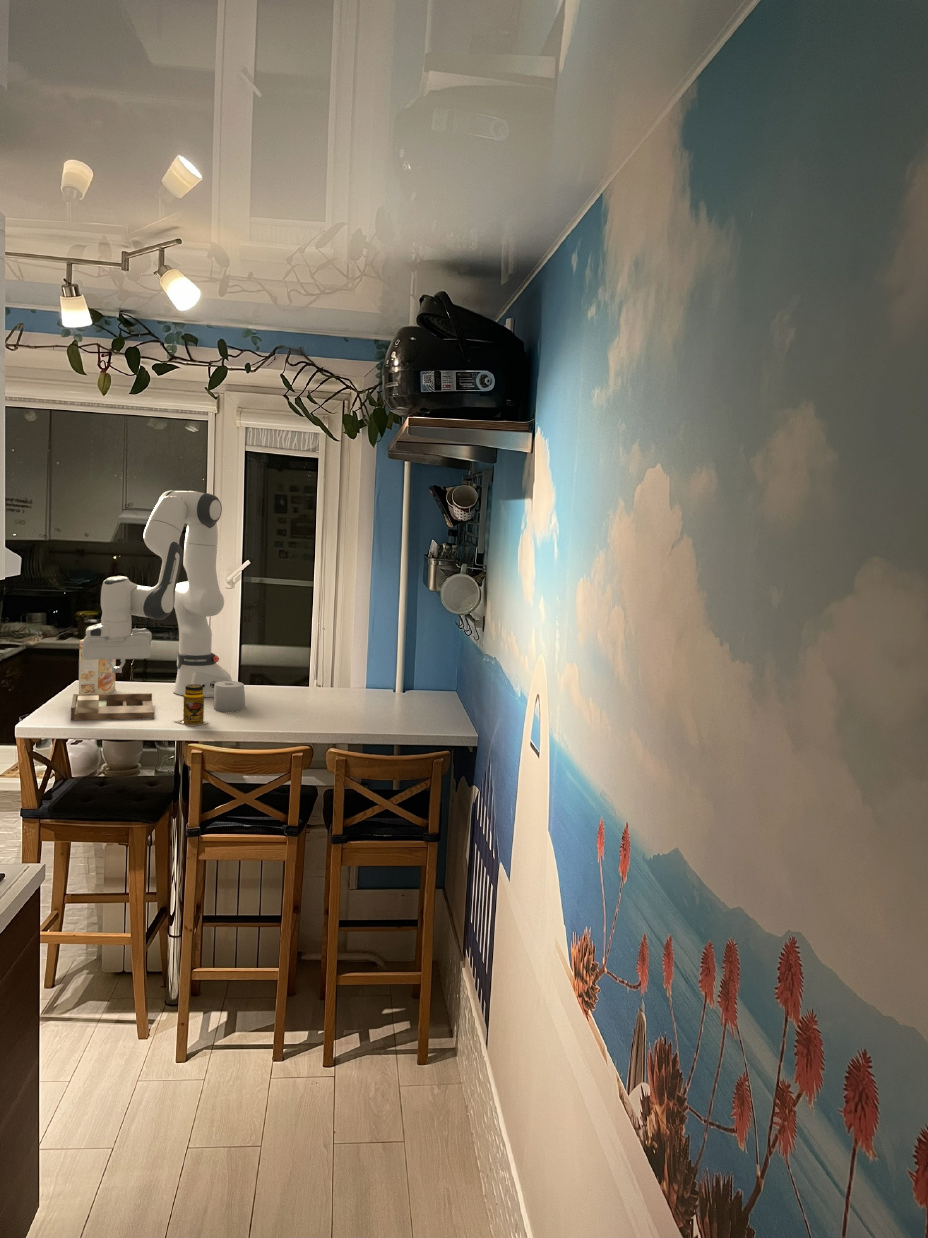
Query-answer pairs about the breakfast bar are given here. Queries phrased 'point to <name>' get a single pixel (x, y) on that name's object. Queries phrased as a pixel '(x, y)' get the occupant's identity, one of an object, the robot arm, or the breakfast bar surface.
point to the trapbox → (117, 707)
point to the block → (88, 704)
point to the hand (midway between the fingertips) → (116, 672)
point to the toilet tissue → (229, 696)
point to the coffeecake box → (95, 675)
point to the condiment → (193, 706)
